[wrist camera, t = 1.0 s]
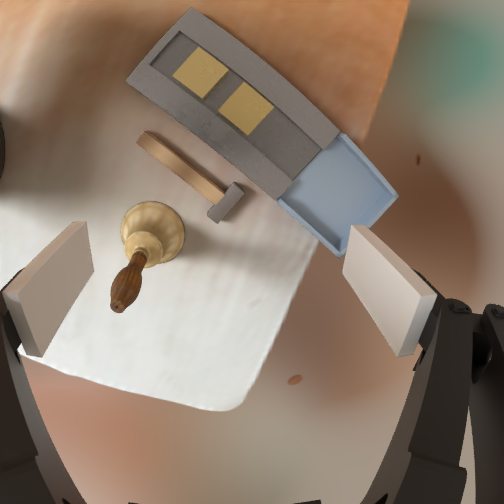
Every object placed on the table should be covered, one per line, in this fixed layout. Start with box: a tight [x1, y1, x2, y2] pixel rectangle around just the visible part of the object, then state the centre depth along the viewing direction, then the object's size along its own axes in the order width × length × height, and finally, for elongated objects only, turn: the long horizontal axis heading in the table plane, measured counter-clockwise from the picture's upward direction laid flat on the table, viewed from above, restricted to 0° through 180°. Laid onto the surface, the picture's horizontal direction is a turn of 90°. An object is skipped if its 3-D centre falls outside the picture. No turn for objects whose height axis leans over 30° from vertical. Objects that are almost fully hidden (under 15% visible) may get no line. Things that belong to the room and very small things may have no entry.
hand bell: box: [110, 201, 185, 313], centre depth 31 cm, size 8×8×16 cm
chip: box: [218, 82, 274, 135], centre depth 30 cm, size 4×4×3 cm
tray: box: [276, 133, 399, 259], centre depth 36 cm, size 11×11×3 cm
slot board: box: [125, 7, 341, 201], centre depth 31 cm, size 22×11×2 cm, turn 48°
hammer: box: [136, 131, 245, 224], centre depth 34 cm, size 13×5×2 cm, turn 48°
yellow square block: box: [173, 47, 229, 100], centre depth 28 cm, size 4×4×3 cm
